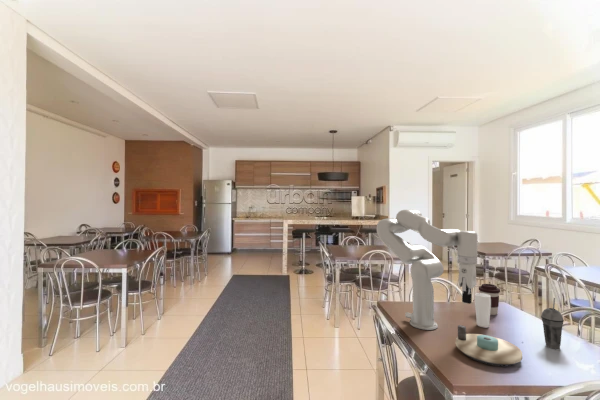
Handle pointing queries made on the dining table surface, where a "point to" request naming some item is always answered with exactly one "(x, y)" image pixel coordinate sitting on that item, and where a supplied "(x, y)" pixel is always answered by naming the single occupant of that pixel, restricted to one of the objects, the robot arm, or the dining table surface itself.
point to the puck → (487, 342)
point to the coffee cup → (494, 294)
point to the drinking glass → (483, 309)
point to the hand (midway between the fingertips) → (466, 302)
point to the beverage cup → (552, 327)
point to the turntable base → (488, 362)
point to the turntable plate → (503, 355)
